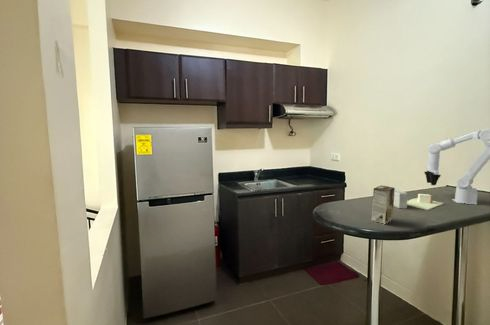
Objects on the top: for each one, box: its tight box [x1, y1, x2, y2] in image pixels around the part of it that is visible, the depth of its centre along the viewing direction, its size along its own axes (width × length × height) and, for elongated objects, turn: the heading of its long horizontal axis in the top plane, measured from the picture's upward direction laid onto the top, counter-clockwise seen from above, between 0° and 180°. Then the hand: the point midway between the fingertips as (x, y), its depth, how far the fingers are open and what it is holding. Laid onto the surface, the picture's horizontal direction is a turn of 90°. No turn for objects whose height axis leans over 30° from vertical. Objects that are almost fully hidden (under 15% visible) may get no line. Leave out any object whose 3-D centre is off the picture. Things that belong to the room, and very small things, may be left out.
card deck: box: [417, 193, 434, 203], centre depth 149 cm, size 3×6×4 cm, turn 71°
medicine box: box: [393, 189, 409, 210], centre depth 143 cm, size 8×4×9 cm, turn 179°
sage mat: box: [407, 197, 444, 211], centre depth 148 cm, size 20×14×1 cm
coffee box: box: [371, 185, 396, 225], centre depth 120 cm, size 9×6×16 cm
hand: (431, 183), depth 163 cm, fingers open, 7 cm apart
